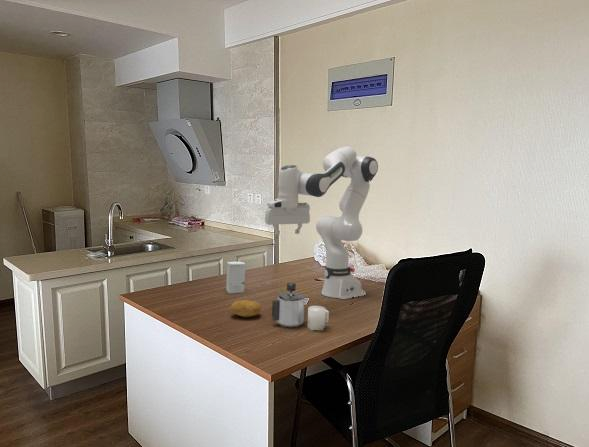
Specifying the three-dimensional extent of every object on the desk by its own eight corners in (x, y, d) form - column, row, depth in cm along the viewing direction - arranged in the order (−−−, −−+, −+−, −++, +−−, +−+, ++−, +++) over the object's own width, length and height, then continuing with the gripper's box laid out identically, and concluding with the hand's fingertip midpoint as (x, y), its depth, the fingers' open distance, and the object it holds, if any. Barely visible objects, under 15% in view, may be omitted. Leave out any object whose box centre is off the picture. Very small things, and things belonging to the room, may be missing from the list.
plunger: (295, 315, 184) (296, 280, 182) (302, 321, 177) (303, 285, 175) (278, 317, 181) (279, 282, 179) (284, 323, 174) (285, 287, 172)
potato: (259, 320, 180) (259, 304, 179) (228, 319, 181) (228, 303, 180) (261, 313, 190) (262, 297, 189) (232, 312, 190) (232, 296, 189)
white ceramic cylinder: (323, 323, 180) (323, 304, 179) (330, 329, 173) (331, 310, 172) (304, 325, 176) (305, 306, 175) (311, 332, 170) (312, 312, 169)
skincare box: (228, 293, 216) (229, 264, 214) (225, 290, 221) (226, 261, 219) (245, 292, 219) (245, 263, 217) (241, 289, 224) (242, 260, 222)
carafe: (297, 317, 186) (298, 290, 184) (307, 326, 176) (308, 297, 174) (268, 320, 181) (268, 292, 179) (276, 329, 171) (277, 300, 170)
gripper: (306, 201, 198) (306, 231, 200) (263, 202, 190) (263, 233, 192) (312, 203, 192) (311, 234, 194) (268, 203, 184) (268, 236, 187)
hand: (287, 234), depth 193 cm, fingers open, 8 cm apart
